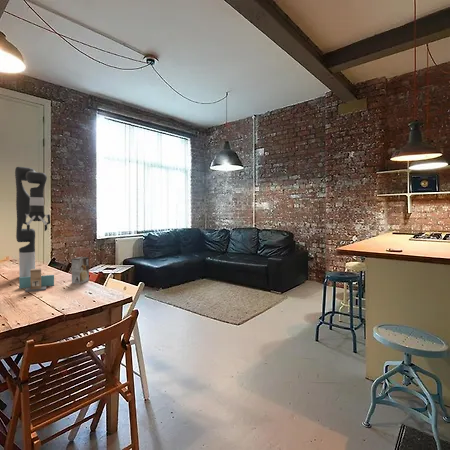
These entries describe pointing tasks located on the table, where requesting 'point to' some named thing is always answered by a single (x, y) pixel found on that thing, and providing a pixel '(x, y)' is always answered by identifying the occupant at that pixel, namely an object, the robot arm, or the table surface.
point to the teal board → (45, 281)
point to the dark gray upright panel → (35, 289)
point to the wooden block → (36, 278)
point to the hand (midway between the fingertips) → (37, 231)
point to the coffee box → (80, 270)
